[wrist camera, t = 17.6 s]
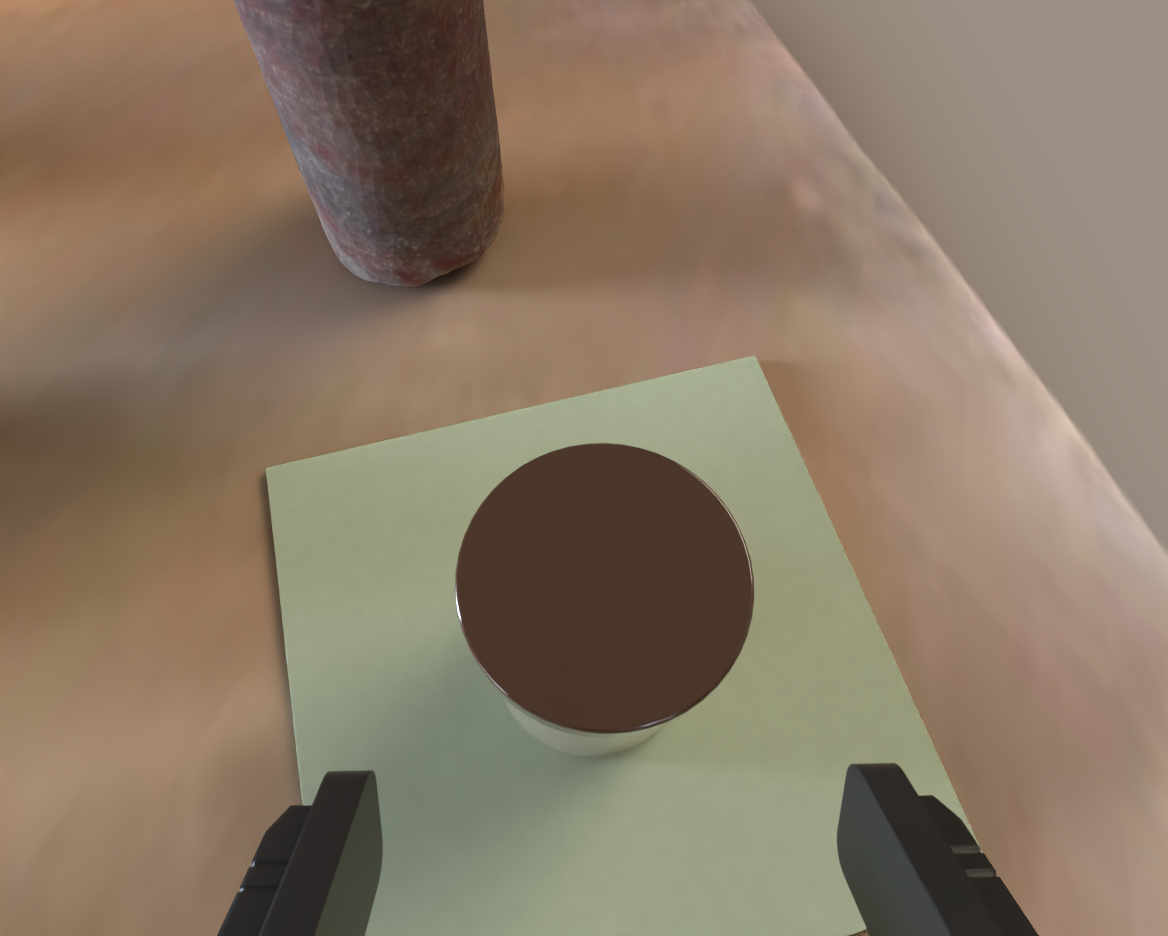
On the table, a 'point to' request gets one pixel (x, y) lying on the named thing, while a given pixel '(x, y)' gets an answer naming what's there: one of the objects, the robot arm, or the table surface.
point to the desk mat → (575, 783)
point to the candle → (388, 127)
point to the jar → (603, 595)
